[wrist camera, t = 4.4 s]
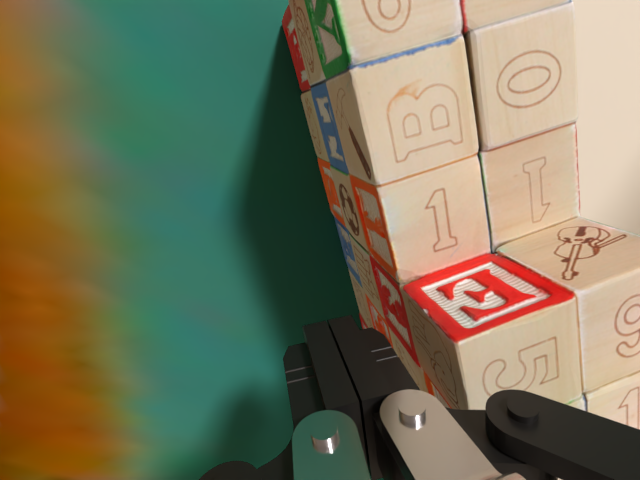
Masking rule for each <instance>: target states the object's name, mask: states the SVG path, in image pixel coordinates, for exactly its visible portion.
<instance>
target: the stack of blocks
mask: <svg viewBox="0 0 640 480" xmlns="http://www.w3.org/2000/svg"><path fill="white" fill-rule="evenodd" d="M282 25H283V29H284V32H285V35H286V39H287V42H288V46H289V50H290V53H291V57H292V60H293V64H294V67H295V71H296V75H297V78H298V82H299V86H300V89H301V91H302V94H301V100H302V104H303V108H304V111H305V115H306V119H307V123H308V126H309V130H310V134H311V137H312V141H313V145H314V148H315V152H316V154H317V157H318V164H319V168H320V172H321V176H322V179H323V183H324V187H325V191H326V194H327V198H328V202H329V205H330V210H331V212H332V214H333V215H334V218H335V222H336V226H337V230H338V234H339V237H340V241H341V245H342V249H343V253H344V257H345V260H346V263H347V266H348V270H349V274H350V278H351V282H352V285H353V289H354V293H355V297H356V300H357V304H358V308H359V311H360V313H359V316H360V320H361V325H362V328H363V329H366V328H370V327H372V328H374V329H375V330H377V331H379V332H380V333H382V334H384V335H385V337H386V338H387V340H388V341H389V343H390V344H391V347H392V348H393V349H394V351H395V352H396V354H397V356H398V357H399V358H400V360H401V361H402V363H403V364H404V366H405V367H406V369H407V370H408V372H409V374H410V375H411V377H412V378H413V380H414V381H415V383H416V384H417V386H418V387H419V389H420V390H421V391H424V392H426V393H429V394H431V395H433V396H434V397H435V398H437V399H438V400H439V401H440V402H441V403H442V405H443V406H444V407H447V408H451V409H460V410H485V407H486V402H487V400H488V398H489V397H490V396H491V395H493V394H494V393H496V392H499V391H502V390H510V389H515V390H523V391H527V392H531V393H534V394H537V395H540V396H543V397H546V398H549V399H551V400H554V401H557V402H560V403H563V404H566V405H569V406H572V407H575V408H578V409H581V410H584V411H587V412H590V413H593V414H596V415H598V416H601V417H604V418H607V419H610V420H613V421H616V422H619V423H622V424H625V425H628V426H631V427H634V428H637V429H640V235H638V234H635V233H632V232H628V231H625V230H622V229H618V228H615V227H612V226H608V225H605V224H602V223H599V222H595V221H592V220H589V219H586V218H583V217H581V215H580V190H579V171H578V149H577V129H576V121H577V119H578V115H579V110H578V82H577V54H576V23H575V8H574V3H573V1H572V0H289V5H288V7H287V9H286V11H285V13H284V16H283V20H282ZM558 480H562V479H559V478H558Z"/></svg>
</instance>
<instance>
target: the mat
mask: <svg viewBox="0 0 640 480" xmlns="http://www.w3.org/2000/svg"><path fill="white" fill-rule="evenodd" d="M572 1H573V3H574V8H575V23H576V54H577V82H578V110H579V115H578V119H577V121H576V129H577V149H578V171H579V190H580V215H581V217H583V218H586V219H589V220H592V221H595V222H599V223H602V224H605V225H608V226H612V227H615V228H618V229H622V230H625V231H628V232H632V233H635V234H638V235H640V0H572Z"/></svg>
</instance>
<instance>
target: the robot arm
mask: <svg viewBox="0 0 640 480" xmlns="http://www.w3.org/2000/svg"><path fill="white" fill-rule="evenodd" d="M302 327H303V334H304V340H305V343H301V344H297V345H293V346H288V349H287V351H286V353H285V355H284V358H283V361H284V368H285V374H286V380H287V386H288V393H289V399H290V405H291V411H292V418H293V424H294V431H293V435H292V438H291V440H290V442H289V444H288V446H287V447H286V448H285V450H284V451H283V452H282V453H281V454H280V455H278V456H277V457H276V458H275V459H273V460H272V461H270V462H268V463H267V464H265V465H263V466H262V467H260V468H258V469H256V468H255V467H254V466H253V465H251V464H249V463H247V462H243V461H230V462H226V463H223V464H220V465H218V466H216V467H214V468H212V469H211V470H209V471H208V472H207V473H205V474H204V475H203V476H202V477H201V478H200V479H199V480H371V479H372V480H376V479H380V478H384V480H558V478H559V479H562V480H640V429H637V428H634V427H631V426H628V425H625V424H622V423H619V422H616V421H613V420H610V419H607V418H604V417H601V416H598V415H596V414H593V413H590V412H587V411H584V410H581V409H578V408H575V407H572V406H569V405H566V404H563V403H560V402H557V401H554V400H551V399H549V398H546V397H543V396H540V395H537V394H534V393H531V392H527V391H523V390H515V389H510V390H502V391H499V392H496V393H494V394H493V395H491V396H490V397H489V398H488V400H487V402H486V407H485V410H460V409H451V408H447V407H444V406H443V405H442V403H441V402H440V401H439V400H438V399H437V398H435V397H434V396H433V395H431V394H429V393H426V392H424V391H421V390H420V389H419V387H418V386H417V384H416V383H415V381H414V380H413V378H412V377H411V375H410V374H409V372H408V370H407V369H406V367H405V366H404V364H403V363H402V361H401V360H400V358H399V357H398V356H397V354H396V352H395V351H394V349H393V348H392V347H391V344H390V343H389V341H388V340H387V338H386V337H385V335H384V334H382V333H380V332H379V331H377V330H375V329H374V328H372V327H370V328H366V329H362V330H359V328H358V326H357V325H356V323H355V321H354V319H353V317H352V316H351V315H348V316H344V317H339V318H335V319H330V320H327V322H326V321H322V322H317V323H313V324H308V325H304V326H302ZM368 470H369V472H368ZM369 473H370V475H369ZM370 476H371V479H370Z"/></svg>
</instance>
